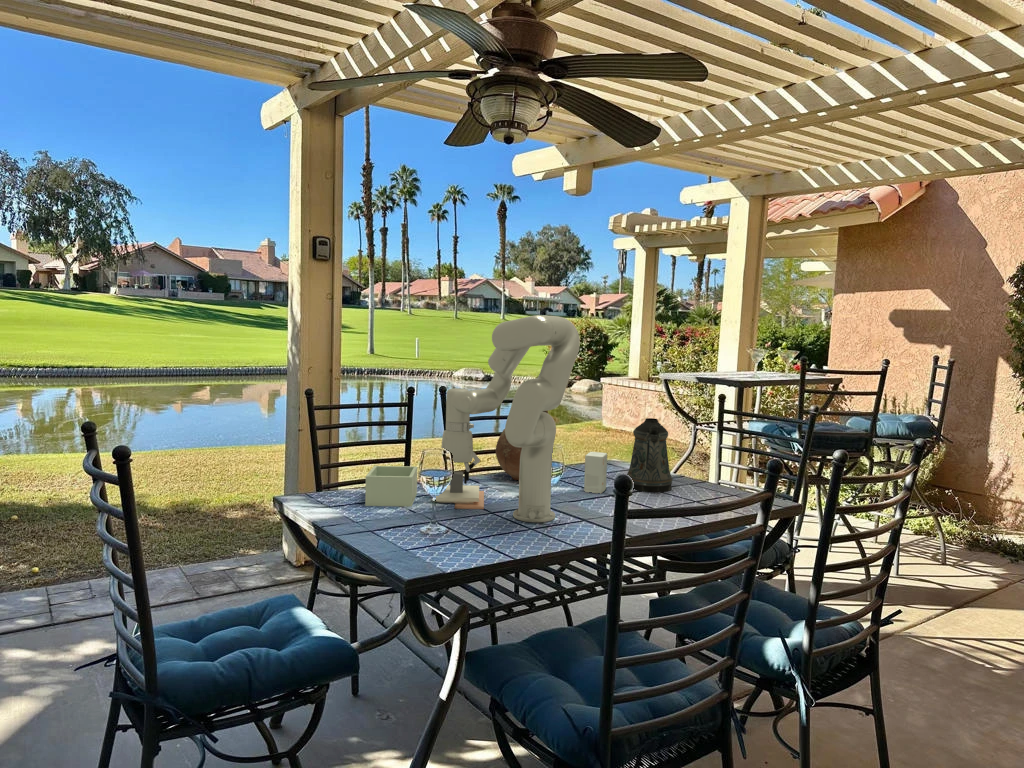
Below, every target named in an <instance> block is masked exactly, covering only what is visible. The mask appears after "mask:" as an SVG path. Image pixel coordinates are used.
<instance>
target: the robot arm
mask: <svg viewBox="0 0 1024 768" xmlns="http://www.w3.org/2000/svg"><path fill="white" fill-rule="evenodd" d="M491 342H492V345H493V346H494V347H495V348H494V350H493V351H492V353H491V355H490V356H489V357H488V360H487V364H488V366H489V368H490V369H491V370H492V371H493V373H494V374H493V377H492V378H491V380H490V382H489V384H488V385H487V386H486V388H478V389H473V390H472V389H471V390H470V389H467V388H457V387H455V388H449V389H448V390H447V391H446V398H445V399H446V402H445V403H446V406H445V407H446V408H445V409H446V410H445V430H443V434H442V437H441V438H442V439H441V448H444V449H447V450H449V451H450V452H451V453H452V455H453V461H454V463H460V464H463V465H464V468H465V470H464V473H463V485H464V484H465V485H467V482H468V481H470V471H471V470H472V469H473V468H474V467H476V465H478V464H479V463H480V462H481V459H480V457H478V456H477V454H476V453H475V452H474V440H473V432H472V431H471V429H475V423H471V422H470V419H471V418H470V416H471V415H480V414H483V413H491V412H493V411H496V410H497V409H498V408H499V407H500V406H501V404H502V403H503V401H504V400H505V398H506V397H507V395H509V392H510V390H511V387H512V381H513V379H512V378H513V373H514V372H515V370H516V369H517V368H518V366H519V364H521V361H522V360H523V358H524V357H525V356H526V354H527V353H528V351H529V350H530V348H532V347H537V346H540V347H542V346H551V347H550V351H548V353H547V355H546V356H545V357H544V360H543V362H542V366H541V368H540V371H539V374H538V376H537V378H530V379H527V380H525V381H523V382H522V383H521V384H520V385H519V387H518V388H517V389H516V392H515V393H514V396H513V399H512V403H511V406H510V409H509V412H508V415H507V419H506V422H505V425H504V429H505V435H506V438H507V440H508V442H509V443H510V444H511V445H513V446H515V447H522V450H521V455H520V474H519V481H518V509H515V510H514V511H513V513H512V516H513V518H514V519H516V520H518V521H522V522H526V523H547V522H552V521H553V520H555V518H556V513H555V512H554V511H552V510H551V503H552V502H551V500H552V498H551V497H552V496H551V494H552V469H553V459H552V453H553V447H554V444H555V440H556V434H557V425H556V421H555V420H554V418H553V417H552V415H551V414H549V411H551V410H552V411H553V410H555V409H557V408H558V407H559V406H560V405H561V403H562V401H563V397H564V395H565V393H566V389H567V386H568V383H569V380H570V377H571V374H572V370H573V368H574V365H575V362H576V360H577V358H578V354H579V351H580V345H581V343H580V342H581V339H580V334H579V331H578V329H577V328H576V326H575V325H574V324H573V322H572V321H570V320H569V319H567V318H565V317H563V316H558V315H544V314H543V315H542V314H541V315H540V314H538V315H536V314H535V315H530V316H526V317H521V318H520V317H519V318H516V319H512V320H506V321H503V322H500V323H499V324H497V325H496V326H495V328H494V329H493V331H492V334H491ZM542 411H548V413H546V412H542ZM473 459H474V460H473Z"/></svg>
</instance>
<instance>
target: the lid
mask: <svg viewBox="0 0 1024 768" xmlns="http://www.w3.org/2000/svg"><path fill="white" fill-rule="evenodd" d="M453 472H454V474H453V478H452V480H451V481H450V480H449V484H447V485H448V486H447V488H446V490H445V491H444V492H443V493H442V494H440V495H439V496H436V501H435V502H437V503H445V504H446V503H452V504H453V503H454V504H455V503H473V502H479V491H480V485H471V484H470V485H469V484H468V485H467V484H465V485H464V471H453Z"/></svg>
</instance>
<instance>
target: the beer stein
mask: <svg viewBox="0 0 1024 768" xmlns="http://www.w3.org/2000/svg"><path fill="white" fill-rule="evenodd" d="M632 433H633V436H634V442H633V448H632V451H631V453H632V454H631V459H630V464H629V468H628V471H627V474H626V475H629V476H630V477H631V478H632V480H633V482H634V488H633V491H636V490H637V492H642V491H643V493H657V494H658V493H666V492H669V491H670V490H671V489H672V486H673V485H672V484H673V477H672V474H671V470H670V464H669V457H668V454H669V453H668V446H667V439H668V436H669V432H668V430H667V429H666V428H665V426H663V425H662V424H661V422H659V419H658V418H652V417H651V418H649V417H647V418H645V419H644V421H643V422H642V423H641V424H639V425H638V426H637V427H635V428H634V429H633V432H632ZM634 489H635V490H634Z"/></svg>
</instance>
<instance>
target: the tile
mask: <svg viewBox="0 0 1024 768" xmlns="http://www.w3.org/2000/svg"><path fill="white" fill-rule="evenodd" d="M484 508H485V491H484V490H479V502H473V503H454V506H453V509H455V510H456V509H457V510H460V509H463V510H484Z"/></svg>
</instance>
